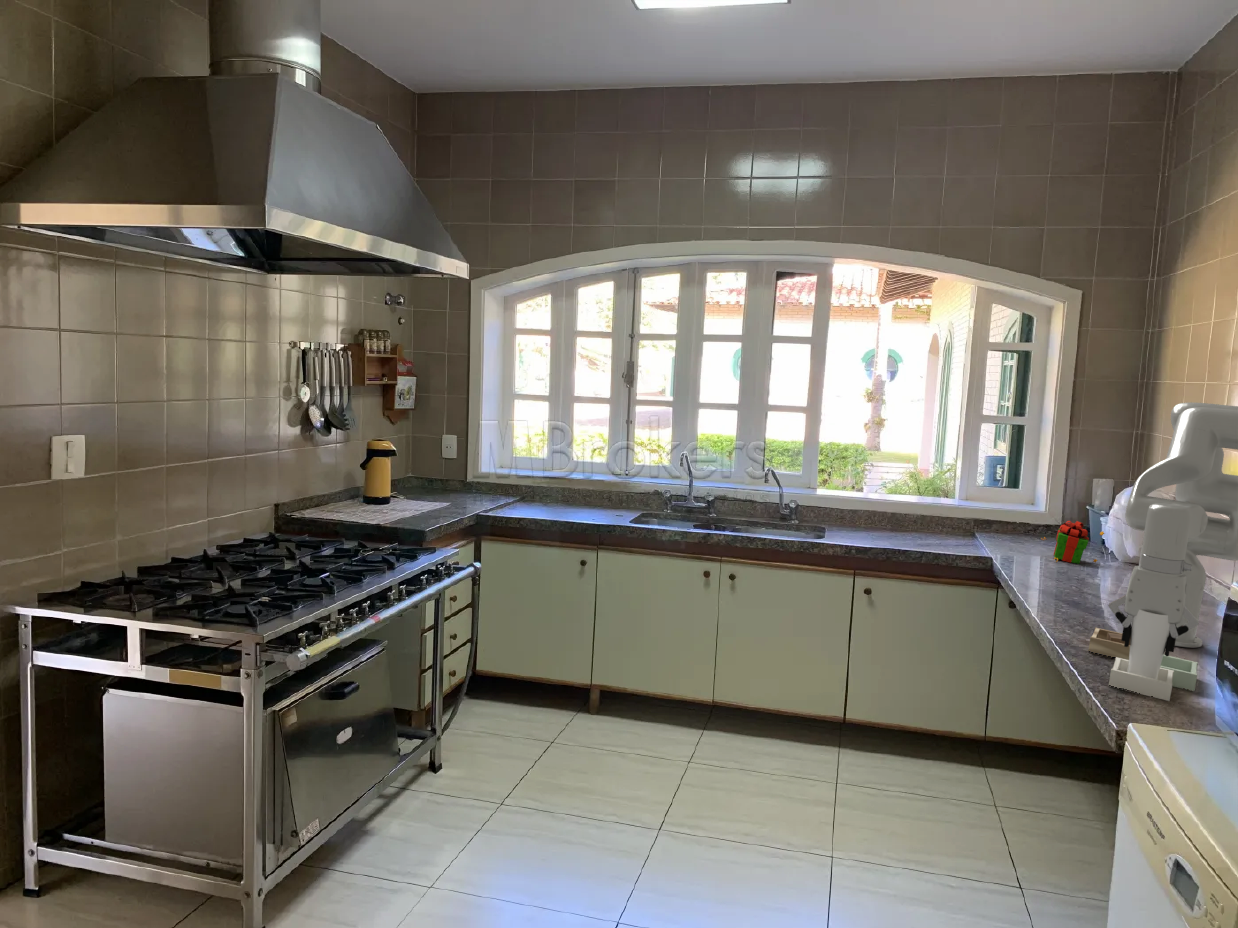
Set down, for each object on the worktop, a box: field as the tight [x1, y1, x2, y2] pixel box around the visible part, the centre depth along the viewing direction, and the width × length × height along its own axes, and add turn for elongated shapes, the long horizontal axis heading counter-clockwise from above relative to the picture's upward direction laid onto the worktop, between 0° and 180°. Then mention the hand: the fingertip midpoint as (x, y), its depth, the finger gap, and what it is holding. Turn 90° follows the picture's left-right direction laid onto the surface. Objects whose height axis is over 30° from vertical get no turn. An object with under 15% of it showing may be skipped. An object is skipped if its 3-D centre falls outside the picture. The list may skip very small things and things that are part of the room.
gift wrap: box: [1040, 520, 1106, 565], centre depth 298 cm, size 20×19×14 cm
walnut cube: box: [1106, 633, 1130, 645], centre depth 198 cm, size 4×4×4 cm
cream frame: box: [1108, 657, 1174, 702], centre depth 176 cm, size 10×11×4 cm
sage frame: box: [1160, 654, 1198, 692], centre depth 183 cm, size 10×11×4 cm
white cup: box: [1127, 610, 1170, 679], centre depth 175 cm, size 7×7×15 cm
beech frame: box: [1087, 627, 1131, 660], centre depth 198 cm, size 10×11×4 cm
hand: (1146, 648), depth 176 cm, fingers closed on white cup, 6 cm apart
